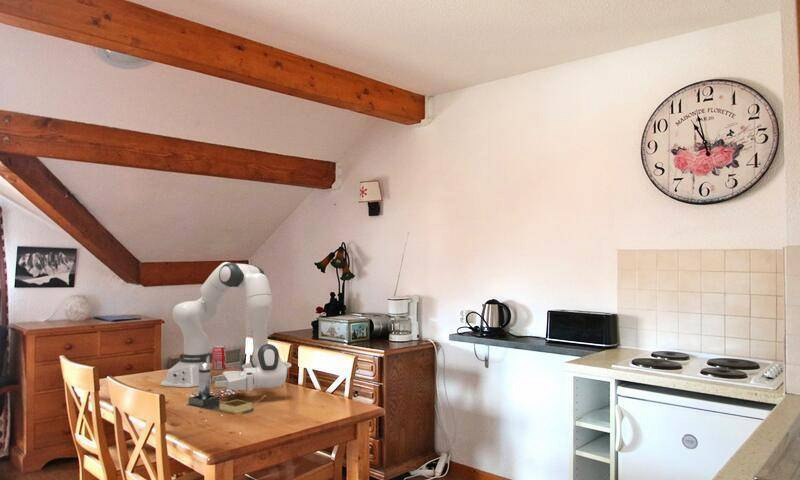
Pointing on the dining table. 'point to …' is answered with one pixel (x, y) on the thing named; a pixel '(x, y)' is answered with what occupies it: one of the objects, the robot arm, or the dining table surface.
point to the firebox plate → (221, 405)
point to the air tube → (204, 380)
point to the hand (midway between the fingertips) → (213, 381)
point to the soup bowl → (252, 367)
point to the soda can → (219, 357)
